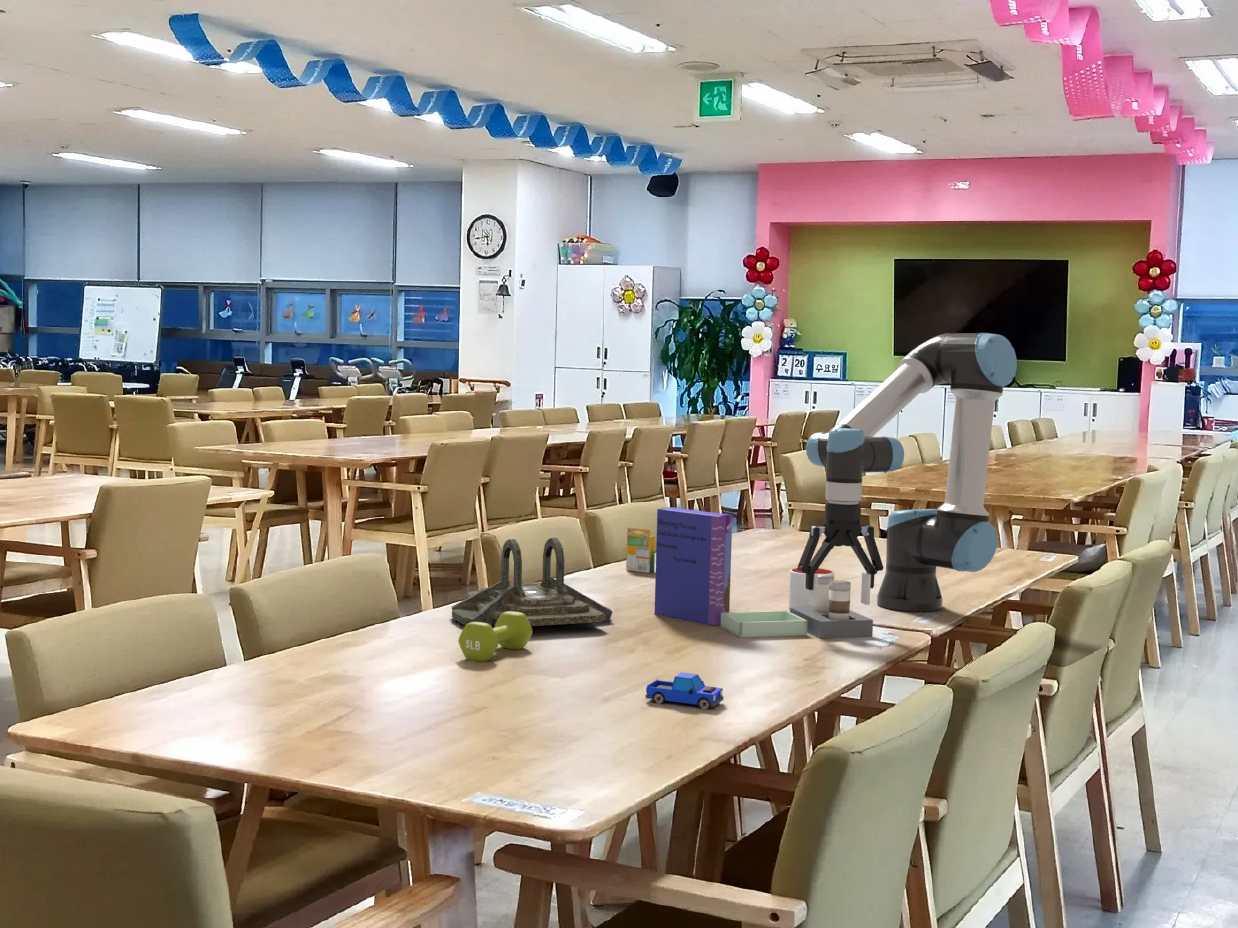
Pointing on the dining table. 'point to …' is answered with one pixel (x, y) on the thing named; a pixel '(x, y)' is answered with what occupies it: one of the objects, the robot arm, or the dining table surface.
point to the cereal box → (693, 565)
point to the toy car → (685, 691)
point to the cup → (801, 587)
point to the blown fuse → (839, 600)
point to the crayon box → (640, 551)
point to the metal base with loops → (531, 595)
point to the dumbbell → (495, 636)
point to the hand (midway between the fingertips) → (839, 604)
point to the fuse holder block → (823, 625)
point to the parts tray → (763, 624)
